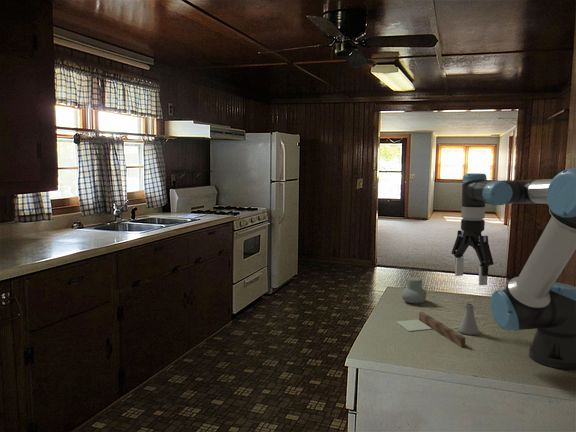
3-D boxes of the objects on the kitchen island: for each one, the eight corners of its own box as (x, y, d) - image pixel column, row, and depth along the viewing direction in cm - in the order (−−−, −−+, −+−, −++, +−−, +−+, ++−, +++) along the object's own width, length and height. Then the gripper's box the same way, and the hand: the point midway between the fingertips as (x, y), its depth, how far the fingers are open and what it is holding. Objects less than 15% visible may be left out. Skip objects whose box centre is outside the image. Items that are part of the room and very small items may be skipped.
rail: (465, 346, 160) (465, 337, 159) (460, 347, 159) (461, 338, 159) (422, 319, 186) (422, 312, 185) (419, 320, 185) (419, 312, 185)
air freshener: (419, 306, 201) (420, 283, 200) (400, 303, 206) (400, 280, 204) (427, 300, 211) (428, 277, 209) (408, 297, 215) (409, 274, 214)
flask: (481, 336, 169) (482, 307, 167) (458, 334, 170) (460, 306, 169) (477, 329, 176) (478, 301, 174) (456, 327, 177) (457, 300, 176)
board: (431, 329, 175) (431, 328, 175) (408, 331, 173) (408, 330, 173) (417, 320, 185) (417, 319, 185) (395, 322, 183) (395, 321, 183)
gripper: (507, 223, 157) (503, 288, 159) (461, 214, 181) (459, 271, 183) (486, 224, 155) (483, 290, 158) (442, 215, 179) (441, 272, 182)
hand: (470, 280), depth 171 cm, fingers open, 13 cm apart
